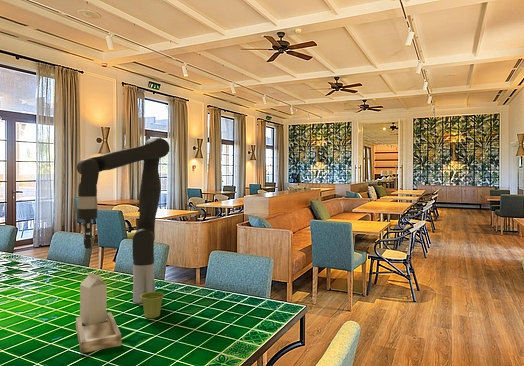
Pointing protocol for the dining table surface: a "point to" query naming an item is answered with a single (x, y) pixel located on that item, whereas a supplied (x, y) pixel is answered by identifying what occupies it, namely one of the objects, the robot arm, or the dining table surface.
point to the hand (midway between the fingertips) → (87, 246)
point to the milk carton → (93, 300)
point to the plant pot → (152, 304)
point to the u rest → (98, 335)
